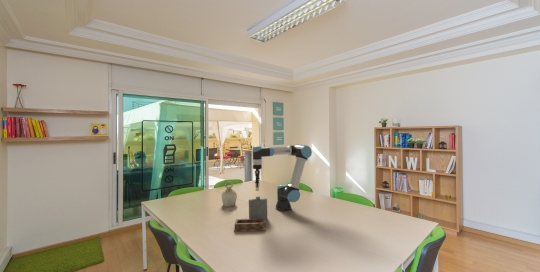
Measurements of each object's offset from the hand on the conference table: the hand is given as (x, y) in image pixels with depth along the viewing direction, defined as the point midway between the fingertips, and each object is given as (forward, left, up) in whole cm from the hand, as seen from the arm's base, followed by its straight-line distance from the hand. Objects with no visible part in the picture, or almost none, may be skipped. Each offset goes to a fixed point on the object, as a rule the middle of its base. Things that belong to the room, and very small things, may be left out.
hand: (257, 188), depth 199 cm
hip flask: (0, 0, -27) cm, 27 cm away
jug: (+31, -43, -27) cm, 59 cm away
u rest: (+6, +17, -27) cm, 32 cm away
